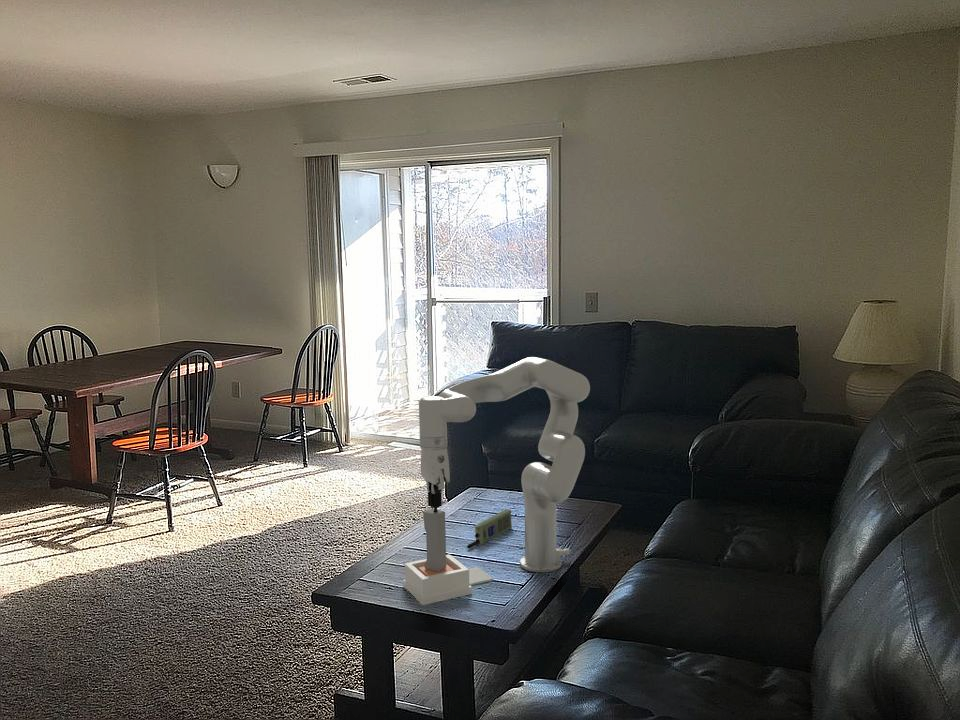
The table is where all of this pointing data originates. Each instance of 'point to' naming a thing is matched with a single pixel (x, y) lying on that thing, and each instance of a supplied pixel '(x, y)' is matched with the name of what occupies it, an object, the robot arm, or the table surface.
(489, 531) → the handheld radio
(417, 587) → the frame
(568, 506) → the table surface
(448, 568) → the button
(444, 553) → the vintage mobile phone
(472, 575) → the light gray square panel
